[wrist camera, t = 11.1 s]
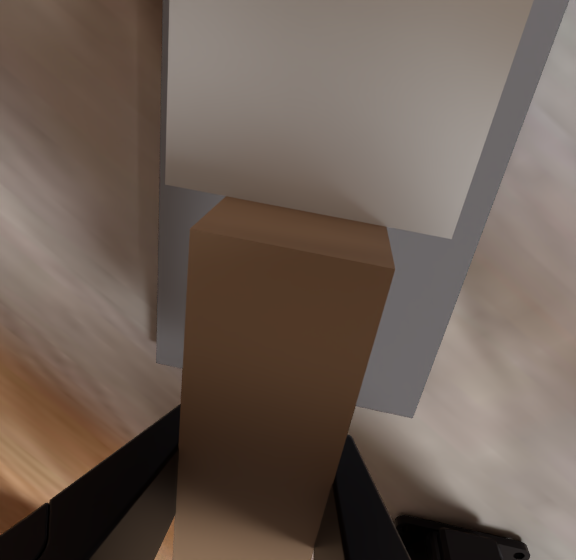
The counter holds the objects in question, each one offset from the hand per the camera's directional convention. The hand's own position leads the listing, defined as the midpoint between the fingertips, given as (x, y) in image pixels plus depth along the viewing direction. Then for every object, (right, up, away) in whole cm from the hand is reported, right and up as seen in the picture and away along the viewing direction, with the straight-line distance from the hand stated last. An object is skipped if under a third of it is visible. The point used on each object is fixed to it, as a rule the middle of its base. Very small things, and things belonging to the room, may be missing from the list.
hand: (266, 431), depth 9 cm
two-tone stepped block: (+1, +4, -1) cm, 4 cm away
